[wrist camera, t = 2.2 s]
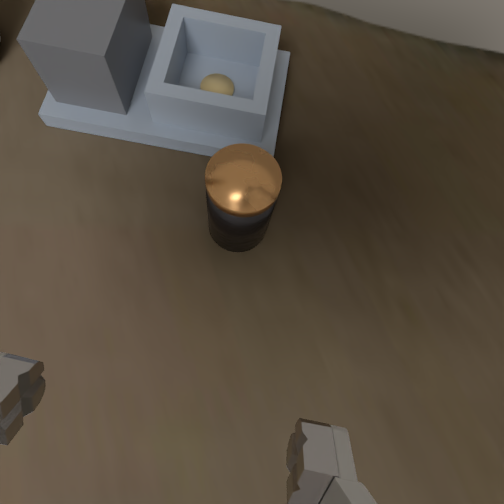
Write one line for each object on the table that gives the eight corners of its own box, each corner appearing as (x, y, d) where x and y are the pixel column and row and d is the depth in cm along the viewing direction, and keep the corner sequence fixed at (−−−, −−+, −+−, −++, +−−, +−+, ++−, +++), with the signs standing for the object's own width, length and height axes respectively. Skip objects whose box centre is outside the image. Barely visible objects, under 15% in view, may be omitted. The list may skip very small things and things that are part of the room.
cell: (269, 204, 30) (286, 151, 22) (261, 256, 28) (276, 218, 21) (214, 194, 30) (213, 137, 22) (203, 246, 28) (197, 204, 20)
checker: (287, 64, 35) (304, -12, 27) (270, 167, 31) (286, 109, 24) (88, 25, 34) (53, -65, 27) (46, 125, 30) (-7, 52, 23)
